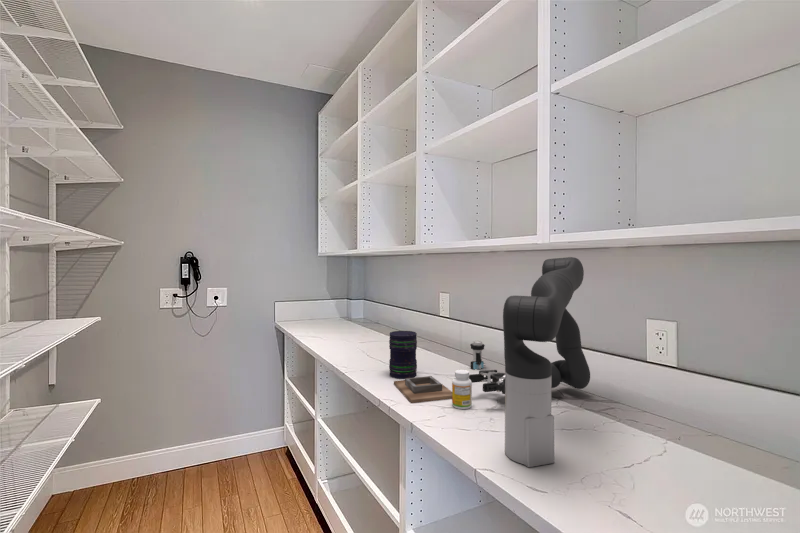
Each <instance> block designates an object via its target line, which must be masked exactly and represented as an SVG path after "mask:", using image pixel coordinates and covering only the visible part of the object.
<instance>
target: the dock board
mask: <svg viewBox="0 0 800 533" xmlns="http://www.w3.org/2000/svg"><path fill="white" fill-rule="evenodd" d="M393 385H394V386H395V387H396V388H397V390H398V391H399V392H400V393H401V394H402V395H403V396H404V397H405V399H407V400H408V402H409V403H410V404H417V403H426V402H435V401H443V400H452V390H450V389H449V388H448V387H447V386H445V385H444V384H443V383H441V382H440V381H439V380H437V378H435V377H433V376H432V375H429V376H416V377H414V378H405V379H400V380H393Z"/></svg>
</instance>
